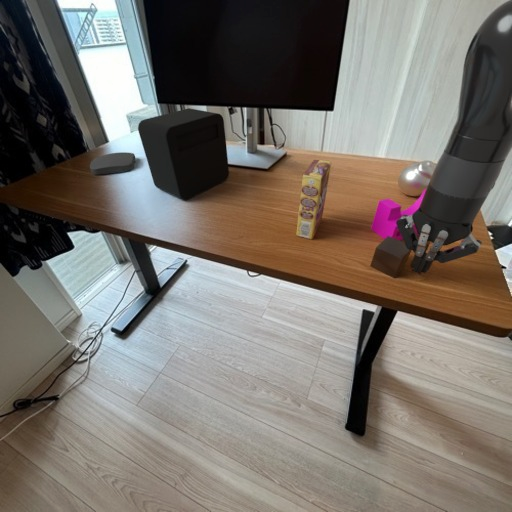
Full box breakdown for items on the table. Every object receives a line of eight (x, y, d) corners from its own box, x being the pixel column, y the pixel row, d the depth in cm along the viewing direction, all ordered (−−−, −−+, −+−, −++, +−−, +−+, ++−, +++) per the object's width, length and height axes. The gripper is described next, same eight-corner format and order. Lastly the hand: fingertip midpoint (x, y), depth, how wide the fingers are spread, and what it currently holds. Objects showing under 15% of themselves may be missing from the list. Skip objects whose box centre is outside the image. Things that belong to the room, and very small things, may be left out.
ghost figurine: (409, 205, 72) (423, 169, 66) (387, 190, 79) (397, 156, 73) (437, 199, 74) (454, 164, 67) (413, 185, 81) (426, 151, 74)
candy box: (313, 240, 62) (321, 177, 52) (295, 236, 63) (300, 174, 53) (323, 221, 68) (332, 161, 58) (306, 217, 69) (312, 158, 59)
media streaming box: (133, 171, 96) (130, 163, 94) (90, 176, 94) (86, 168, 92) (137, 157, 107) (135, 149, 105) (98, 161, 105) (95, 154, 103)
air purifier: (201, 168, 96) (190, 106, 83) (230, 178, 89) (223, 111, 76) (153, 189, 85) (131, 120, 72) (181, 203, 77) (164, 129, 64)
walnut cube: (405, 265, 54) (413, 246, 51) (394, 278, 52) (402, 258, 48) (381, 254, 57) (388, 235, 54) (369, 266, 54) (376, 246, 51)
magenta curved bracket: (389, 243, 60) (400, 214, 55) (370, 228, 64) (379, 200, 60) (440, 228, 64) (454, 199, 59) (419, 215, 68) (431, 187, 63)
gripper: (402, 180, 41) (374, 264, 52) (509, 209, 34) (450, 300, 45) (421, 165, 45) (392, 247, 56) (520, 189, 37) (464, 277, 49)
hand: (417, 270), depth 50 cm, fingers closed
